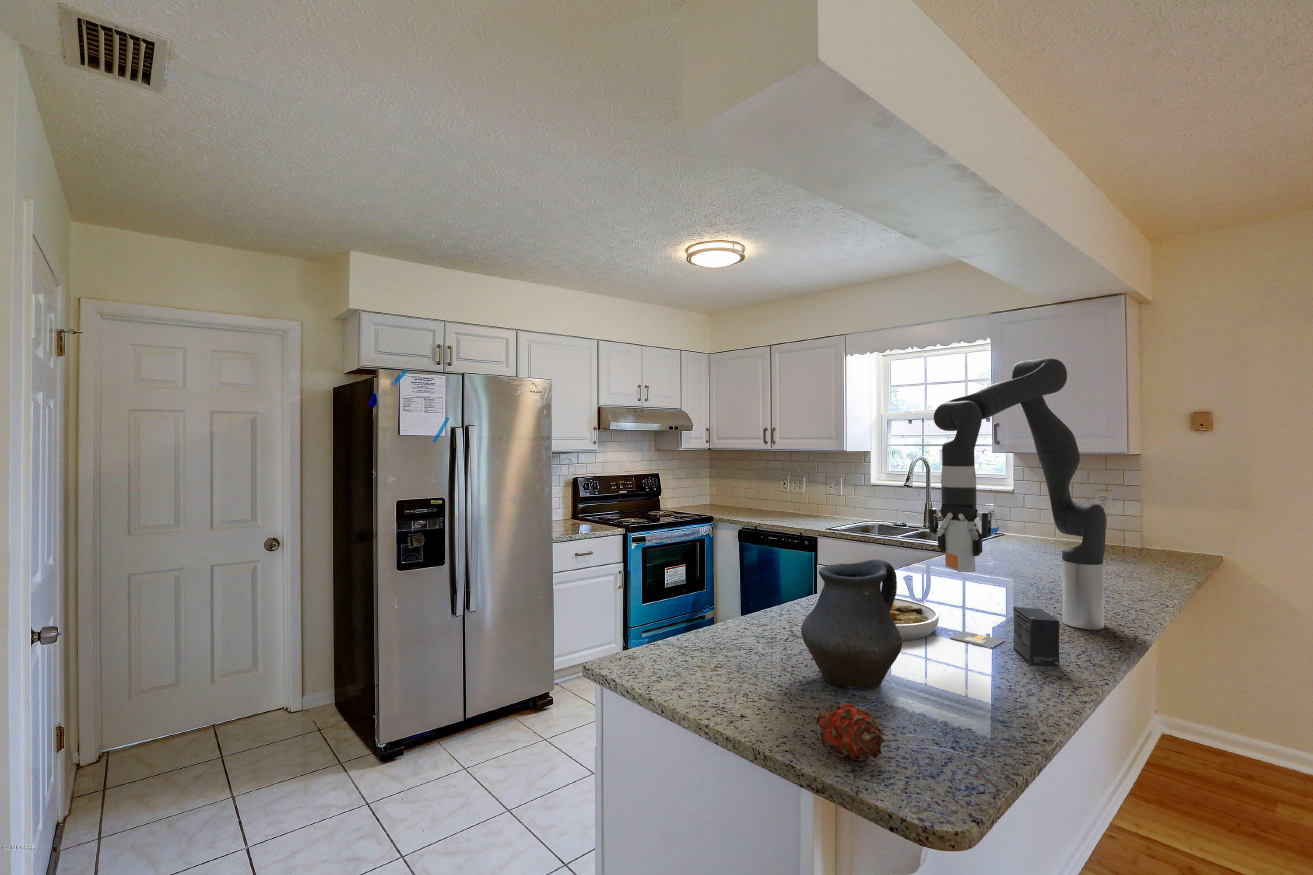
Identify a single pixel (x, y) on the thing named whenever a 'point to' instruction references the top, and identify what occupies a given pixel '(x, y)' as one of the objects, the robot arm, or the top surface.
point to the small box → (1036, 636)
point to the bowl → (913, 618)
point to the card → (977, 639)
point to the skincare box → (959, 547)
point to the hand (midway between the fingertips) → (959, 553)
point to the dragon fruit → (851, 732)
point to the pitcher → (854, 624)
